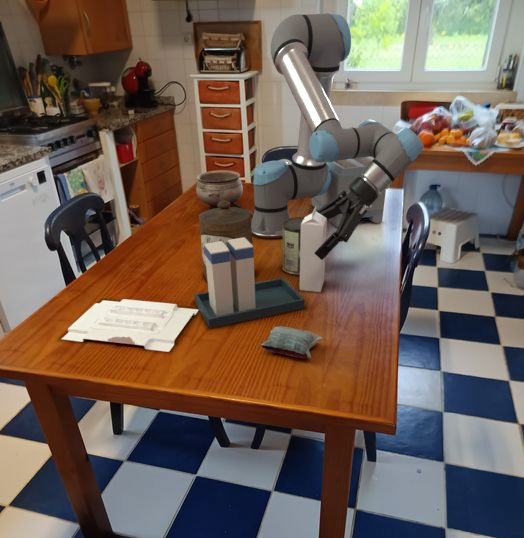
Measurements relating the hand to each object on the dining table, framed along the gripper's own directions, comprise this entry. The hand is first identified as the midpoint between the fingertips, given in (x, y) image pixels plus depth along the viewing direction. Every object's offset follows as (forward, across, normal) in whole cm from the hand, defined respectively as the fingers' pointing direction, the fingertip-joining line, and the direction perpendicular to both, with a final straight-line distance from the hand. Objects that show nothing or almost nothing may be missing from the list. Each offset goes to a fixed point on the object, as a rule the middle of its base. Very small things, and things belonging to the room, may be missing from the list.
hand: (310, 247), depth 130 cm
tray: (+21, -7, +5) cm, 23 cm away
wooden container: (+23, +14, +6) cm, 28 cm away
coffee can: (+8, +13, -9) cm, 18 cm away
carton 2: (+22, -7, +6) cm, 24 cm away
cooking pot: (+19, +82, +2) cm, 84 cm away
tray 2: (+43, -9, +26) cm, 51 cm away
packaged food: (+17, -30, 0) cm, 34 cm away
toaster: (-13, +57, -30) cm, 66 cm away
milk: (+8, 0, -9) cm, 12 cm away
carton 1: (+26, -8, +10) cm, 29 cm away
